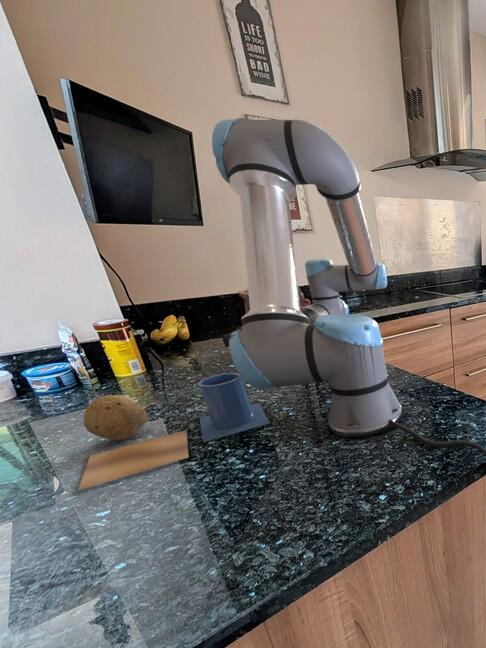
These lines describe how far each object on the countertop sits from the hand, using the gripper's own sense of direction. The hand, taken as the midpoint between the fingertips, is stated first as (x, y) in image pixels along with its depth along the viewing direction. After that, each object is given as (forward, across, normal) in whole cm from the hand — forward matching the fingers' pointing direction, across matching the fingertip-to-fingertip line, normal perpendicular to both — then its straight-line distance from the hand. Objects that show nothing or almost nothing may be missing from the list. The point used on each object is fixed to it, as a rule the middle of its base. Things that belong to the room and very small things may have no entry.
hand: (249, 341), depth 91 cm
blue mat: (+10, 0, -16) cm, 19 cm away
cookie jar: (-46, +30, -15) cm, 57 cm away
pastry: (+8, +36, -16) cm, 40 cm away
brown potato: (+20, +18, -16) cm, 31 cm away
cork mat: (+26, +7, -16) cm, 31 cm away
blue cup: (+10, 0, -15) cm, 18 cm away
